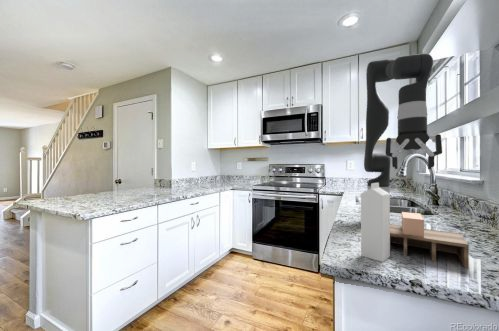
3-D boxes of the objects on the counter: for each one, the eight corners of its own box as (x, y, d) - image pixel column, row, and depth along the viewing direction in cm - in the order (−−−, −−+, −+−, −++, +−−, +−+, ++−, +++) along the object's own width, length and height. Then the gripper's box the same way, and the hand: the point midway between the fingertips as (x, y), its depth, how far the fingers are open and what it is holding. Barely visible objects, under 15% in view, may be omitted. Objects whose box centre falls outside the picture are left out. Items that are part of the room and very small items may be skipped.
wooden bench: (382, 240, 79) (382, 223, 79) (460, 253, 67) (460, 233, 67) (378, 250, 70) (378, 231, 70) (468, 268, 57) (468, 244, 57)
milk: (361, 256, 66) (359, 183, 66) (369, 250, 70) (367, 181, 70) (383, 262, 61) (382, 184, 61) (390, 256, 65) (389, 182, 65)
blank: (401, 226, 75) (401, 211, 75) (420, 228, 72) (420, 213, 72) (403, 234, 67) (403, 217, 67) (424, 236, 64) (423, 219, 64)
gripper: (440, 117, 68) (440, 169, 68) (386, 122, 76) (386, 168, 76) (443, 112, 62) (443, 169, 62) (384, 119, 70) (384, 169, 70)
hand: (412, 169), depth 69 cm, fingers open, 8 cm apart
